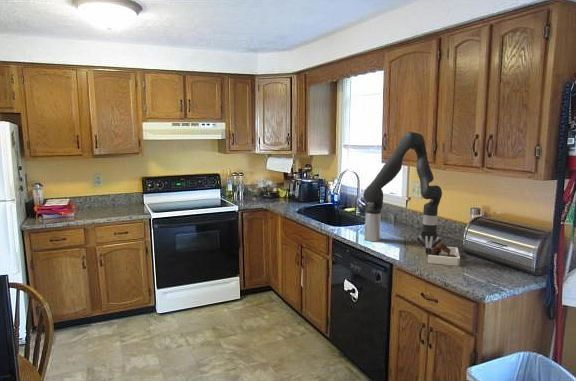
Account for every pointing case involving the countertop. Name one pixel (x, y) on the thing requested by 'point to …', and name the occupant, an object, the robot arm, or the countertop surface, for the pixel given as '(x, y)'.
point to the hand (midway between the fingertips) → (428, 254)
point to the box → (446, 260)
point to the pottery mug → (437, 250)
